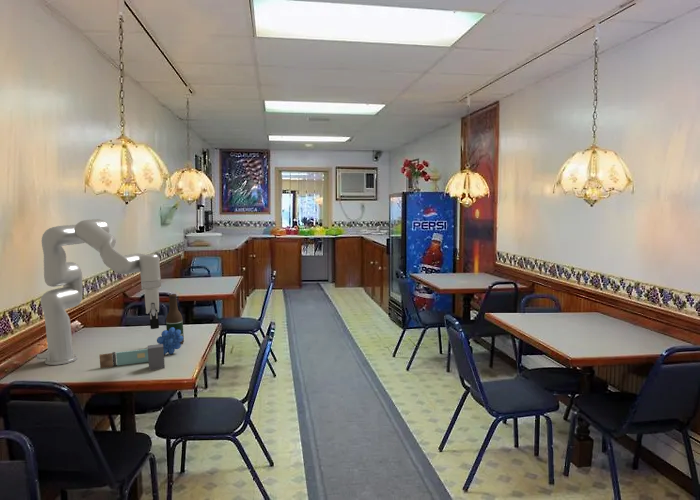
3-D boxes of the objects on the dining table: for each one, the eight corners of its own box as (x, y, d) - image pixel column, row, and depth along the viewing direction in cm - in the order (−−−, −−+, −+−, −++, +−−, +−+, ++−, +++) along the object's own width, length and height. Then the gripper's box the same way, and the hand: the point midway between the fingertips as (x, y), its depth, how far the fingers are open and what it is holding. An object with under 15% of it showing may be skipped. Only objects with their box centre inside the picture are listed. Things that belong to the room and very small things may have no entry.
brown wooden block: (100, 368, 225) (99, 354, 224) (100, 367, 226) (99, 353, 225) (164, 360, 233) (163, 346, 233) (163, 359, 234) (163, 346, 234)
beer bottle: (179, 346, 254) (175, 295, 252) (164, 345, 256) (160, 295, 253) (187, 341, 262) (184, 292, 259) (172, 341, 263) (169, 292, 261)
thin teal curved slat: (117, 365, 227) (116, 353, 226) (117, 364, 228) (116, 352, 227) (149, 361, 231) (148, 349, 231) (149, 360, 232) (148, 348, 232)
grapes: (182, 349, 248) (181, 324, 247) (185, 353, 242) (183, 327, 241) (155, 353, 243) (154, 327, 242) (157, 357, 237) (156, 330, 236)
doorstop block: (149, 370, 220) (147, 348, 219) (149, 366, 225) (147, 345, 224) (164, 368, 222) (163, 346, 221) (164, 364, 227) (162, 343, 226)
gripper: (141, 282, 227) (145, 322, 228) (141, 288, 210) (144, 331, 212) (160, 281, 229) (163, 320, 231) (161, 286, 213) (165, 329, 215)
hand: (154, 326), depth 222 cm, fingers open, 9 cm apart
